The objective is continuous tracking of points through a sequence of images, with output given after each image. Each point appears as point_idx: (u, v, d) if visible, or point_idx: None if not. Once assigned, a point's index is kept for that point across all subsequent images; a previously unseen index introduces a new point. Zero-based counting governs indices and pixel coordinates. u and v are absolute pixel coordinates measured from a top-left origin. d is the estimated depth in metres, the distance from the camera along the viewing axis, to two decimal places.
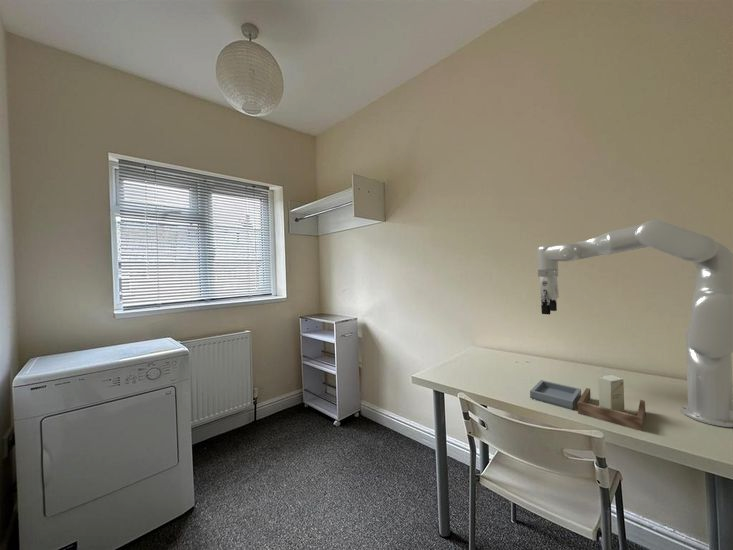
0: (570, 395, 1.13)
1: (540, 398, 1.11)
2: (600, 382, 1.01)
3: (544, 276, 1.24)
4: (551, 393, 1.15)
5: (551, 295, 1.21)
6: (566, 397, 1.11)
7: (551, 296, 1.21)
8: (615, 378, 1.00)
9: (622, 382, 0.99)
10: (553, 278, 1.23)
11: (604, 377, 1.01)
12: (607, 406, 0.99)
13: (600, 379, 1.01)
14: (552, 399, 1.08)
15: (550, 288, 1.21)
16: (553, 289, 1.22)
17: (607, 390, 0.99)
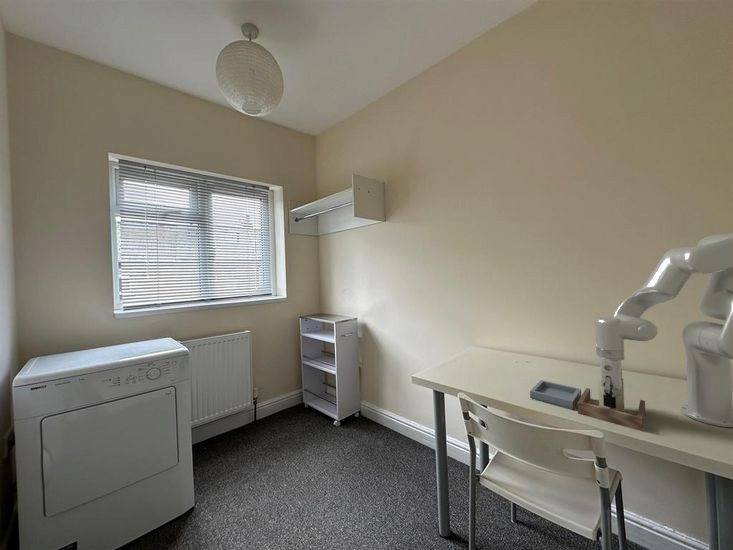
0: (570, 395, 1.13)
1: (540, 398, 1.11)
2: (600, 382, 1.01)
3: (607, 358, 0.98)
4: (551, 393, 1.15)
5: (617, 384, 0.96)
6: (566, 397, 1.11)
7: (617, 385, 0.96)
8: None
9: (622, 382, 0.99)
10: (619, 361, 0.97)
11: None
12: None
13: (600, 379, 1.01)
14: (552, 399, 1.08)
15: (616, 375, 0.96)
16: (619, 376, 0.96)
17: None
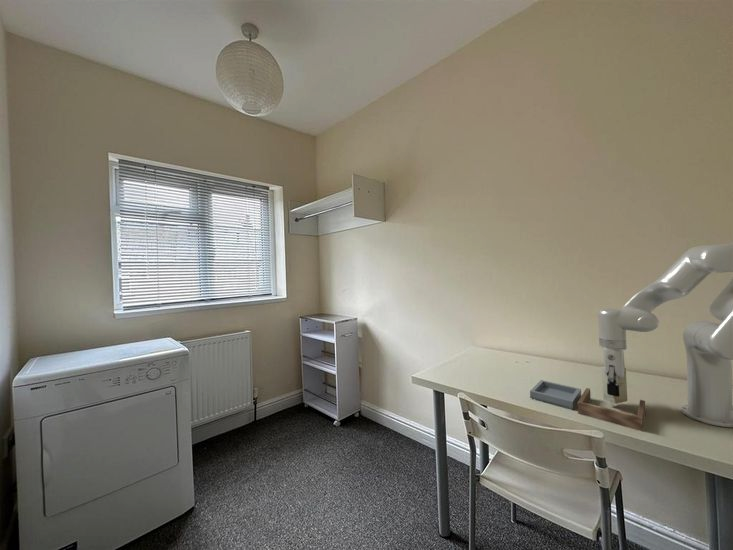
0: (570, 395, 1.13)
1: (540, 398, 1.11)
2: (603, 372, 1.05)
3: (610, 348, 1.02)
4: (551, 393, 1.15)
5: (620, 373, 0.99)
6: (566, 397, 1.11)
7: (620, 374, 0.99)
8: None
9: (625, 371, 1.03)
10: (621, 351, 1.01)
11: None
12: None
13: (603, 369, 1.05)
14: (552, 399, 1.08)
15: (619, 364, 0.99)
16: (622, 365, 1.00)
17: None
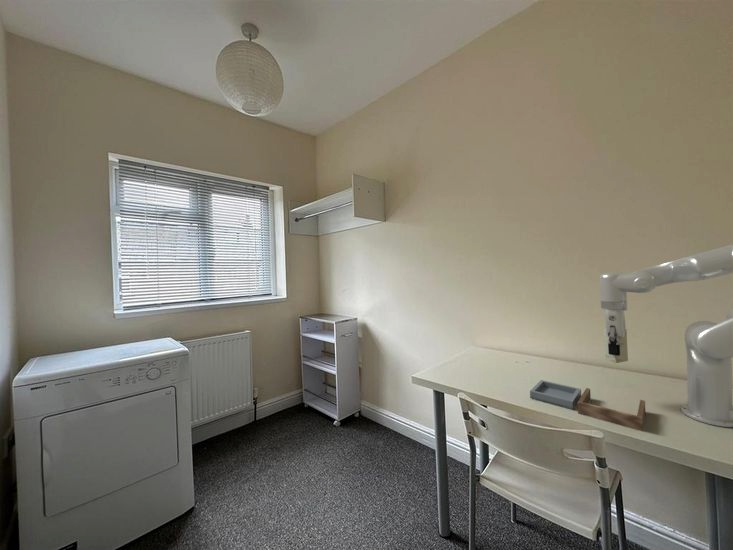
0: (570, 395, 1.13)
1: (540, 398, 1.11)
2: (605, 333, 1.09)
3: (611, 309, 1.06)
4: (551, 393, 1.15)
5: (621, 332, 1.03)
6: (566, 397, 1.11)
7: (621, 333, 1.03)
8: None
9: (625, 332, 1.07)
10: (622, 312, 1.05)
11: None
12: None
13: (605, 330, 1.09)
14: (552, 399, 1.08)
15: (619, 324, 1.03)
16: (623, 325, 1.04)
17: None
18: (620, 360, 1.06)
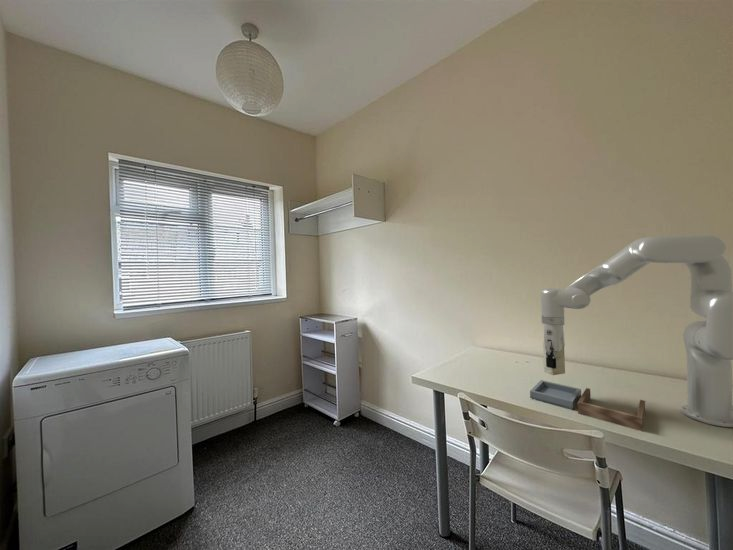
0: (570, 395, 1.13)
1: (540, 398, 1.11)
2: None
3: (549, 324, 1.10)
4: (551, 393, 1.15)
5: (556, 346, 1.08)
6: (566, 397, 1.11)
7: (556, 347, 1.08)
8: None
9: (563, 346, 1.12)
10: (559, 327, 1.09)
11: None
12: None
13: None
14: (552, 399, 1.08)
15: (555, 338, 1.08)
16: (559, 339, 1.09)
17: None
18: (557, 372, 1.11)
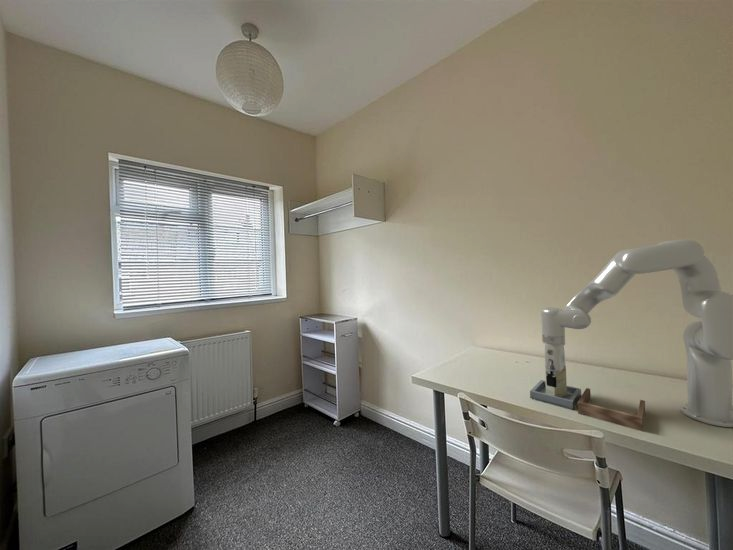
0: (570, 395, 1.13)
1: (540, 398, 1.11)
2: None
3: (549, 343, 1.11)
4: None
5: (557, 366, 1.08)
6: (566, 397, 1.11)
7: (557, 367, 1.08)
8: None
9: (565, 369, 1.12)
10: (559, 346, 1.10)
11: None
12: (551, 390, 1.12)
13: None
14: (552, 399, 1.08)
15: (556, 358, 1.08)
16: (559, 359, 1.09)
17: None
18: (559, 395, 1.11)
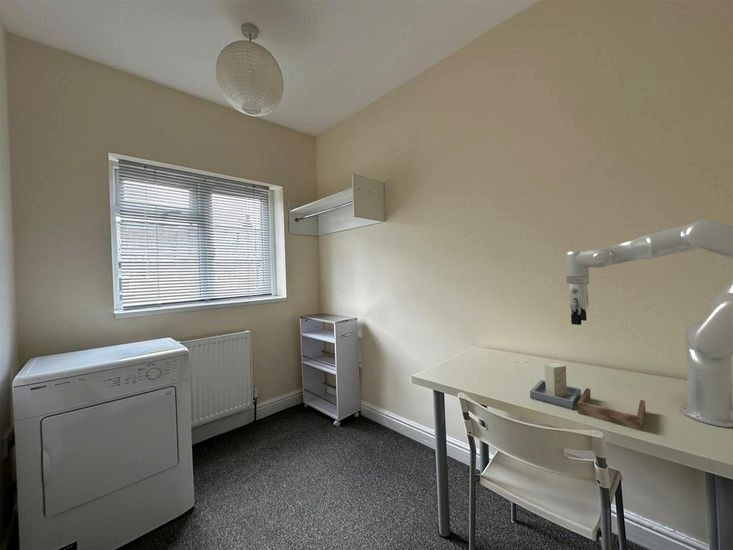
0: (570, 395, 1.13)
1: (540, 398, 1.11)
2: (546, 369, 1.14)
3: (574, 283, 1.14)
4: None
5: (582, 304, 1.12)
6: (566, 397, 1.11)
7: (582, 305, 1.12)
8: (559, 365, 1.13)
9: (565, 369, 1.12)
10: (584, 286, 1.13)
11: (549, 364, 1.14)
12: (551, 390, 1.12)
13: (546, 366, 1.14)
14: (552, 399, 1.08)
15: (581, 296, 1.12)
16: (584, 297, 1.13)
17: (551, 376, 1.12)
18: (559, 395, 1.11)
